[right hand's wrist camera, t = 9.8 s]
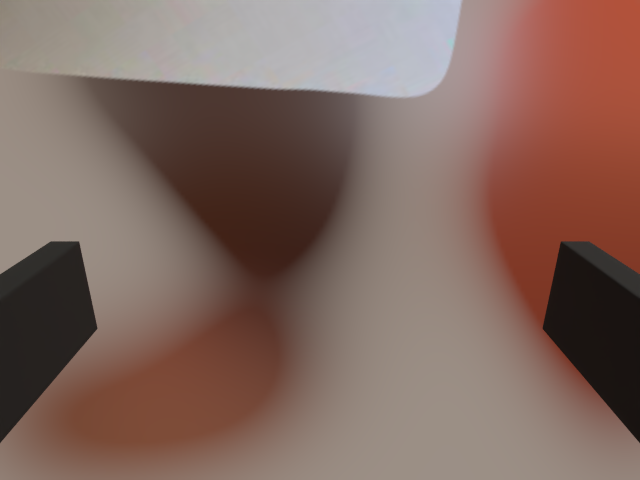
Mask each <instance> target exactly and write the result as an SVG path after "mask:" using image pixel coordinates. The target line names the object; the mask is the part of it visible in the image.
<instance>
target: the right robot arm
mask: <svg viewBox="0 0 640 480" xmlns="http://www.w3.org/2000/svg"><path fill="white" fill-rule="evenodd" d="M96 330H97V324H96V320H95V315H94V310H93V305H92V301H91V296H90V291H89V287H88V282H87V277H86V272H85V268H84V263H83V258H82V253H81V249H80V244H79V242H49V243H48V244H46V245H45V246H43V247H42V248H40V249H39V250H37V251H36V252H34V253H33V254H31V255H29V256H28V257H26V258H25V259H23V260H22V261H20V262H19V263H17V264H16V265H14V266H12V267H11V268H9V269H8V270H6V271H5V272H3V273H2V274H0V442H1V441H2V440H3V439H4V438H5V437H6V435H7V434H8V433H9V432H10V431H11V430H12V428H13V427H14V426H15V425H16V424H17V422H18V421H19V420H20V419H21V418H22V417H23V415H24V414H25V413H26V412H27V411H28V410H29V408H30V407H31V406H32V405H33V404H34V402H35V401H36V400H37V399H38V398H39V397H40V395H41V394H42V393H43V392H44V391H45V390H46V388H47V387H48V386H49V385H50V384H51V383H52V381H53V380H54V379H55V378H56V377H57V375H58V374H59V373H60V372H61V371H62V370H63V368H64V367H65V366H66V365H67V364H68V363H69V361H70V360H71V359H72V358H73V357H74V356H75V354H76V353H77V352H78V351H79V350H80V348H81V347H82V346H83V345H84V344H85V342H86V341H87V340H88V339H89V338H90V337H91V336H92V334H93V333H94V332H95V331H96ZM543 330H544V331H545V332H546V333H547V334H548V335H549V337H550V338H551V339H552V340H553V341H554V342H555V344H556V345H557V346H558V347H559V348H560V350H561V351H562V352H563V353H564V354H565V355H566V357H567V358H568V359H569V360H570V361H571V363H572V364H573V365H574V366H575V367H576V368H577V370H578V371H579V372H580V373H581V374H582V375H583V377H584V378H585V379H586V380H587V381H588V383H589V384H590V385H591V386H592V387H593V388H594V390H595V391H596V392H597V393H598V394H599V395H600V397H601V398H602V399H603V400H604V401H605V402H606V404H607V405H608V406H609V407H610V408H611V410H612V411H613V412H614V413H615V414H616V415H617V417H618V418H619V419H620V420H621V421H622V423H623V424H624V425H625V426H626V427H627V428H628V430H629V431H630V432H631V433H632V434H633V435H634V437H635V438H636V439H637V440H638V441H639V442H640V274H638V273H637V272H635V271H634V270H632V269H631V268H629V267H628V266H626V265H624V264H623V263H621V262H620V261H618V260H617V259H615V258H614V257H612V256H610V255H609V254H607V253H606V252H604V251H603V250H601V249H600V248H598V247H597V246H595V245H594V244H592V243H590V242H561V244H560V249H559V253H558V258H557V263H556V268H555V272H554V277H553V282H552V286H551V291H550V296H549V301H548V305H547V310H546V315H545V320H544V324H543Z"/></svg>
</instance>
